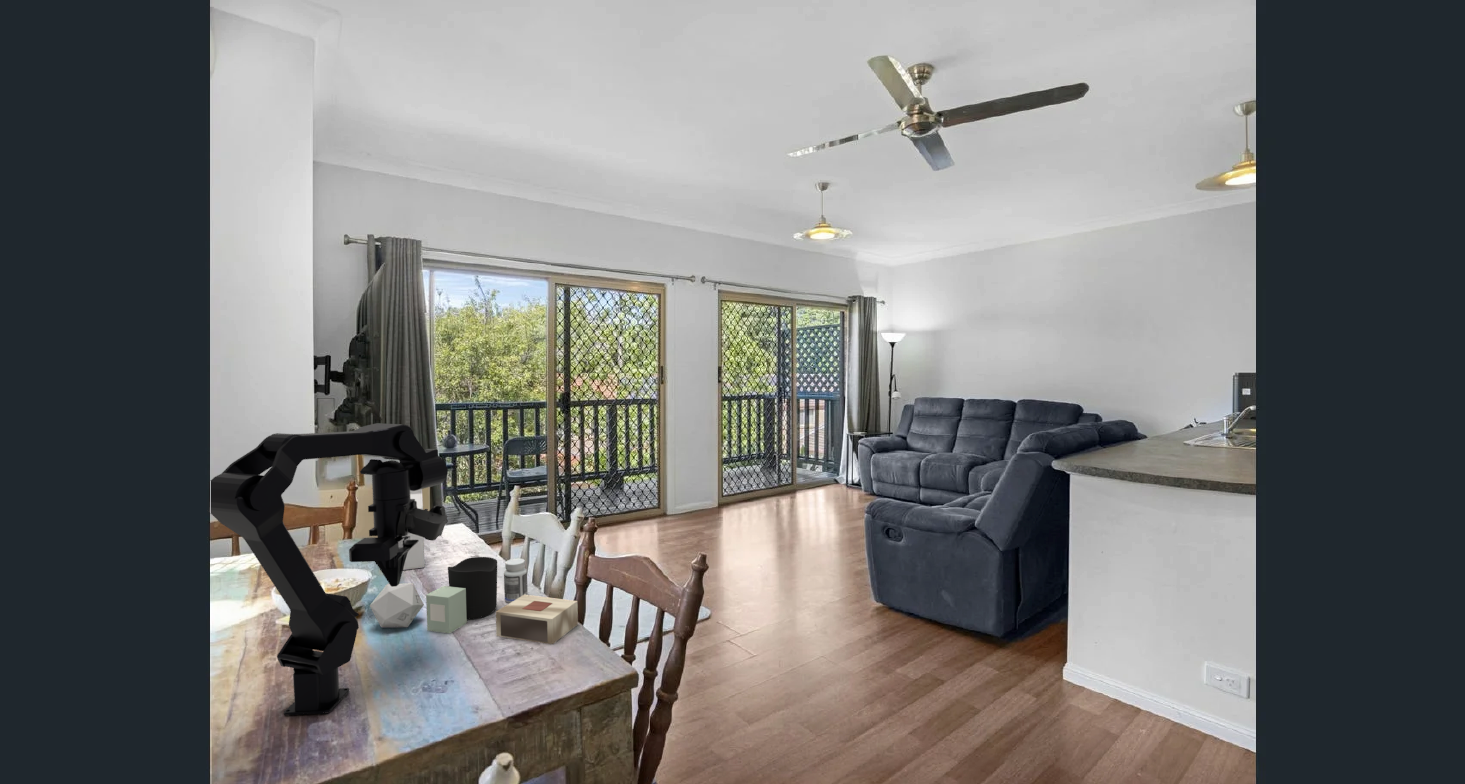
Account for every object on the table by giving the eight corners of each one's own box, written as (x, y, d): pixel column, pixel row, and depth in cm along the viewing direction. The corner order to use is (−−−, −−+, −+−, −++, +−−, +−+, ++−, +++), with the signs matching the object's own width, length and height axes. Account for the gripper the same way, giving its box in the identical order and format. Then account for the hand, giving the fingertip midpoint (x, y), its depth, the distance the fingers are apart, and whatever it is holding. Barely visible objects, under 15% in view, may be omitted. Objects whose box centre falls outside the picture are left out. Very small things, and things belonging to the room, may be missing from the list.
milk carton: (393, 563, 165) (390, 488, 164) (424, 559, 168) (422, 486, 167) (392, 572, 159) (389, 494, 157) (424, 567, 162) (421, 491, 160)
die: (388, 641, 123) (421, 595, 125) (352, 616, 124) (386, 570, 126) (408, 638, 130) (439, 595, 133) (374, 614, 132) (405, 572, 134)
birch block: (551, 618, 119) (577, 600, 128) (495, 611, 123) (524, 593, 131) (552, 645, 120) (577, 625, 128) (496, 637, 123) (524, 618, 132)
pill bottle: (519, 593, 145) (518, 556, 144) (532, 598, 142) (531, 560, 141) (500, 600, 141) (499, 561, 140) (512, 605, 138) (511, 566, 137)
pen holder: (503, 614, 133) (501, 566, 132) (453, 625, 128) (451, 574, 128) (493, 599, 141) (491, 554, 140) (445, 608, 136) (444, 561, 136)
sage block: (449, 633, 124) (448, 597, 124) (426, 630, 126) (425, 595, 125) (466, 623, 129) (465, 588, 129) (445, 620, 130) (444, 585, 130)
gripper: (419, 508, 104) (422, 605, 105) (458, 484, 122) (460, 566, 123) (345, 510, 103) (349, 607, 104) (396, 485, 121) (399, 568, 122)
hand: (395, 585), depth 113 cm, fingers closed
